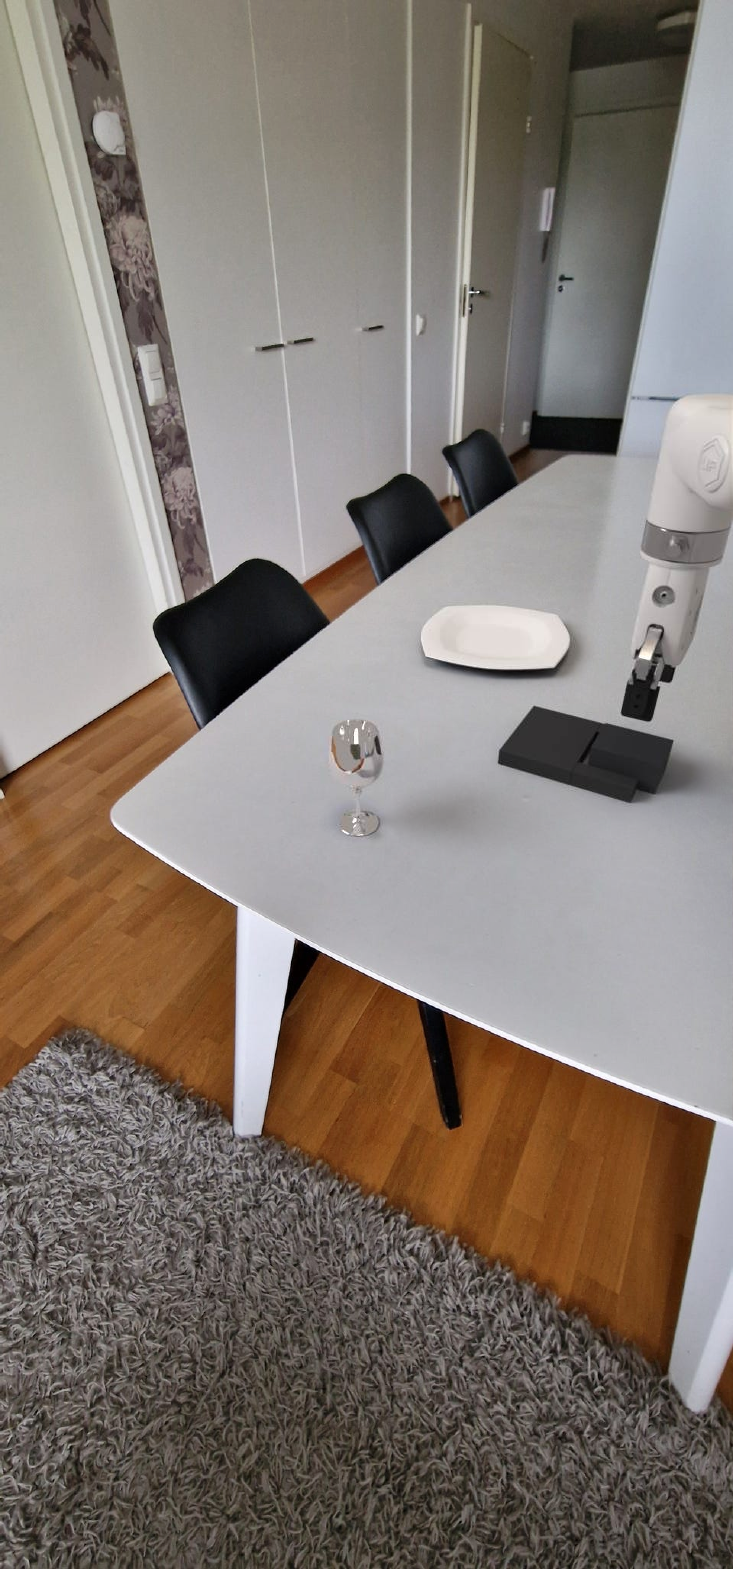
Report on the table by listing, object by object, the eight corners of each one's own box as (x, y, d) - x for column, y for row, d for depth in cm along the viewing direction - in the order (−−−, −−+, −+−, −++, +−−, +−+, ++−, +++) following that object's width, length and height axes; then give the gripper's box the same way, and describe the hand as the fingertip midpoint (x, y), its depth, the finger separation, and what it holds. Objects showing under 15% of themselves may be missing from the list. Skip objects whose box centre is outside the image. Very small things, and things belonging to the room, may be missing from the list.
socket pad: (654, 750, 87) (658, 737, 86) (630, 803, 79) (633, 789, 78) (532, 718, 94) (533, 705, 93) (497, 763, 86) (499, 750, 85)
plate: (567, 687, 101) (569, 674, 99) (408, 672, 105) (408, 660, 104) (569, 621, 118) (570, 610, 117) (433, 611, 123) (433, 600, 122)
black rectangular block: (666, 767, 85) (674, 739, 82) (654, 794, 80) (662, 766, 78) (599, 749, 88) (605, 722, 85) (585, 774, 84) (591, 746, 81)
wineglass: (322, 830, 77) (315, 738, 69) (348, 801, 81) (343, 711, 74) (369, 846, 74) (367, 753, 67) (393, 815, 78) (393, 724, 71)
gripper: (709, 575, 60) (665, 743, 70) (739, 522, 72) (697, 673, 82) (620, 562, 63) (590, 725, 73) (663, 514, 75) (632, 660, 85)
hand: (647, 697), depth 78 cm, fingers open, 9 cm apart
